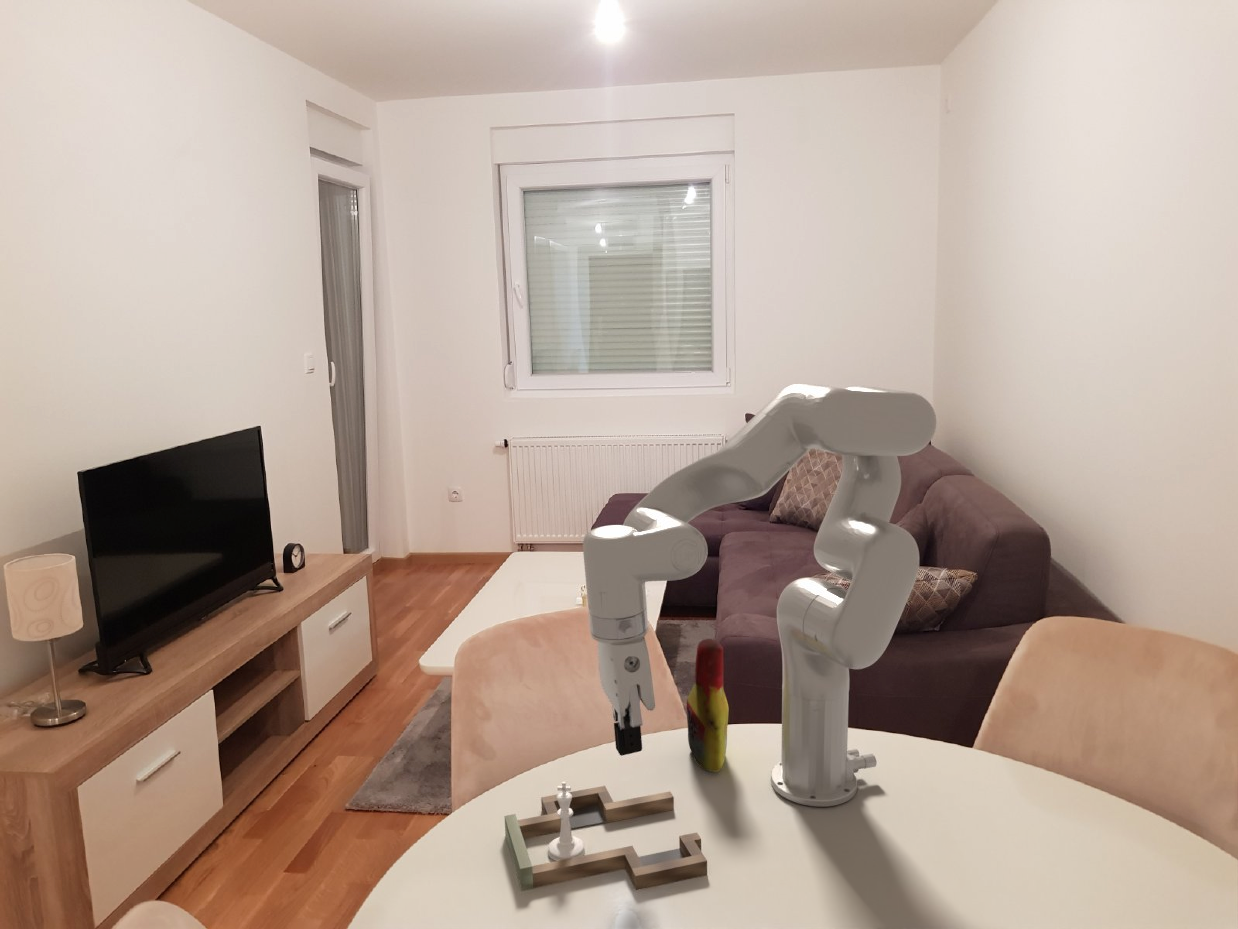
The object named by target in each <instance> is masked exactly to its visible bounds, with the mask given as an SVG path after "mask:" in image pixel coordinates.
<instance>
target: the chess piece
mask: <svg viewBox="0 0 1238 929" xmlns="http://www.w3.org/2000/svg"><path fill="white" fill-rule="evenodd" d="M571 786H572V785H571ZM571 786H570V785H567V781H562V782H561V785H557V791H558V792H559V793H558V795H557V794H556V795H557V800H558V803H559V805H560V808H561V809H559V810H558V811H557V816H558V817H560V818H561V831H560V832H559V837H556V838H554V839H553V840H552V841H550V842H549V844H548V848H547V854H548V857H549V858H550V859H551V860H552V861H553V862H555V861H560V860H565V859H569V858H574V857H579V856H584V855H585V852H586V848H585V843H584V841H583V840H582V839H581V838H579V837H577V836H575V835H573V834H572V830H571V828H570V822H569V817H571V816H572V815H573V811H572V809H570V808H569V806H570V802H571V800H572V795H571V794H570V793H568V792H571V790H572V787H571Z"/></svg>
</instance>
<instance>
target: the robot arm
mask: <svg viewBox="0 0 1238 929" xmlns="http://www.w3.org/2000/svg"><path fill="white" fill-rule="evenodd" d="M936 429H937V415H936V412H935V410H934V408H933V406H932V404H931V403H930V402H929V401H928V400H927V398H925V397H924V396H922V395H920V394H918V393H915V392H909V391H902V390H897V389H895V390H894V389H889V388H888V389H886V388H881V387H875V386H865V385H861V386H858V385H857V386H848V387H846V388H842V387H834V386H827V385H826V386H825V385H819V384H813V383H812V384H811V383H796V384H791V385H789V386H786V387H784V388H783V389H782V390H781V391H779V392H778V393H777V394H776V395H775V396H774V397H773V398H771V399H770V400H769V401H768V402H767V403H766V404H765V405H764V406H763V407H762V408H761V409H760V410H759V411H758V412H757V413H756V414H755V415H754V416H753V417H752V418H751V419H750V420H749V421H748V422H746V424H744V426H743V427H742V428H740V430H738V431H737V432H736V433H735V434H734V435H733V436H732V437H730V439H729V440H728V441H727V442H726V443H725V444H723V446H722V447H720V448H719V449H718V450H716V451H715V452H712V453H709V454H707V455H705V456H703V457H702V458H700V459H699V458H698V459H697V460H696V461H694V462H692V463H690V464H689V465H687V466H685V467H683V468H681V469H679V470H677V471H676V472H674V473H672V474H670V475H669V476H668V477H666V478H665V479H663V480H662V481H661V482H659V483H658V484H656V486H655V487H654V488H652V490H650V492H649V493H648V494H646V495H645V496H644V497H642V499H641V500H640V501H639V502H638V503H637V504H636V505H635V506H634V507H633V508H632V509H631V511H630V512H629V513H628V514H627V516H626V517H625V519H624V522H623V524H610V525H609V524H608V525H604V526H598V527H596V528H593V529H591V530H589V531H588V532H587V533H586V534H585V535H584V537H583V539H582V540H583V541H582V551H583V553H582V554H583V564H584V573H585V574H584V576H585V585H586V586H585V587H586V597H587V598H586V599H587V608H588V617H589V631H590V637H591V638H592V639H593V640H595V641H597V642H596V643H597V658H598V659H597V660H598V670H599V680H600V684H601V685H600V686H601V687H602V688H601V689H602V690H603V693H604V694H605V696H606V698H607V699H608V701H609V702H610V704H611V709H612V717H613V721H614V722H613V730H614V739H615V741H614V742H615V749H616V751H617V752H618V754H619V756H622V757H623V756H626V755H631V754H636V753H639V752H641V751H643V743H642V741H643V740H642V728H641V727H642V726H643V719H642V718H643V717H642V711H641V710H642V709H641V703H642V705H643V706H644V707H645V708H646V710H647V711H654V709H655V708H656V702H655V701H656V700H655V699H656V698H655V692H654V684H653V675H652V668H651V661H650V655H649V650H648V645H647V641H646V640H647V639H646V635H648V633H649V621H648V619H649V618H648V608H647V607H648V606H647V604H648V603H647V594H646V593H647V592H646V583H649V582H667V581H668V582H669V581H678V580H683V579H687V578H689V577H692V576H693V575H695V574H697V572H699V571H700V570H701V569H702V567H703V566H704V565H705V563H706V561H707V558H708V554H709V552H708V544H707V541H706V538H705V536H704V535H703V534H702V533H701V532H700V530H699V529H697V528H696V527H695V526H693V525H692V524H690V521H692V520H693V519H695V518H696V517H698V516H699V515H701V514H702V513H705V512H706V511H708V510H710V509H713V508H715V507H719V506H722V505H727V504H733V503H739V502H745V501H749V500H753V499H757V498H759V497H760V498H761V497H762V496H764V495H766V494H767V493H768V492H769V491H770V490H771V489H772V488H773V487H774V486H775V485H776V484H777V483H778V482H779V481H780V480H781V479H782V478H783V477H784V476H785V475H786V474H787V473H788V472H789V471H790V470H791V469H792V468H793V467H794V466H795V465H796V464H797V463H798V462H799V461H800V460H801V459H802V458H803V457H804V456H805V455H806V454H808V453H809V452H810V451H811V450H816V451H821V452H825V453H829V454H834V455H841V459H842V466H841V467H842V469H841V474H840V477H839V481H838V483H837V485H836V486H837V487H836V489H835V491H834V494H833V496H832V499H831V501H830V503H829V506H828V508H827V511H826V513H825V515H824V517H823V520H822V522H821V524H820V526H819V529H818V532H817V534H816V536H815V541H814V543H813V555H814V558H815V560H816V562H817V564H819V565H820V567H822V568H823V569H824V570H826V571H828V572H830V573H831V574H833V575H836V576H838V577H840V578H842V579H844V580H847V581H849V582H850V584H849V586H848V589H845V588H843V587H841V586H838V585H836V584H834V583H831V582H829V581H827V580H824V579H821V578H816V577H811V576H810V577H800V578H798V579H795V580H793V581H792V582H790V583H789V584H788V585H786V587H784V589H783V590H782V592H781V593H780V596H779V599H778V601H777V605H776V623H777V629H778V636H779V640H780V641H779V642H780V647H781V658H782V659H781V660H782V683H781V684H782V685H781V690H782V692H781V695H782V697H781V761H779V762H778V763H777V764H775V765H774V767H772V769H771V771H770V772H771V773H770V784H771V786H772V788H773V789H774V791H775V792H776V793H778V794H779V796H781V797H782V798H784V799H787V800H788V801H790V802H793V803H796V804H800V805H803V806H808V807H818V808H819V807H820V808H821V807H824V808H826V807H834V806H839V805H841V804H844V803H847V802H848V801H850V800H852V798H853V797H854V796H855V795H856V794H857V790H858V779H857V777H856V774H855V773H858V772H859V771H860V770H861V769H862V770H863V769H865V770H866V769H870V768H871V769H872V768H875V767H877V763H878V762H877V759H876V756H875V755H874V753H868V754H862V755H860V753H859V750H858V749H857V748H855V749H854V748H853V749H849V750H848V739H849V738H848V737H849V736H848V735H849V734H848V733H849V731H848V730H849V693H850V692H849V691H850V669H852V670H862V669H865V668H868V667H870V666H872V665H873V664H875V663H876V662H878V660H879V659H880V658H881V657H882V655H883V654H884V653H885V651H886V649H887V647H888V646H889V644H890V641H891V640H892V637H893V635H894V633H895V630H896V628H897V626H898V623H899V621H900V619H901V617H902V614H903V612H904V609H905V607H906V605H907V602H908V600H909V597H910V595H911V592H912V590H913V588H914V585H915V583H916V580H917V577H918V574H919V570H920V569H919V568H920V551H919V547H918V544H917V541H916V539H915V538H914V537H913V536H912V534H911V533H910V532H909V531H908V530H906V529H905V528H903V527H901V526H899V525H897V524H895V523H891V522H890V521H891V518H892V515H893V513H894V509H895V507H896V503H897V502H898V498H899V495H900V492H901V487H902V472H901V465H900V462H899V459H898V458H899V457H902V456H903V457H904V456H905V457H906V456H911V455H914V454H916V453H918V452H920V451H922V450H923V449H924V448H926V447H927V445H929V444H930V442H931V441H932V440H933V437H934V435H935V433H936Z"/></svg>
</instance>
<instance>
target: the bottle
mask: <svg viewBox="0 0 1238 929" xmlns="http://www.w3.org/2000/svg"><path fill="white" fill-rule="evenodd" d="M695 657H696V658H695V667H694V668H695V670H694V672H695V673H694V674H695V677H694V684H693V685H692V688H691V690H690V692H689V693H688V696H687V698H686V699H687V700H686V722H687V740H688V746H689V750H690V752H691V754H692V757H693V759H694V761H695V762H696V763H697V765H698V766H700V767H701V768H702V769H703V770H706V771H708V772H719V771H721V769H722V768H723V765H724V763H725V759H726V752H727V744H728V742H727V741H728V726H729V724H728V722H729V704H728V700H727V696H726V693H725V691H724V690H725V689H724V648H723V645H722V644H720V642H718V641H716V640H715V639H712V638H705V639H702V640H701V641H700V642H698V645H697V648H696V656H695Z"/></svg>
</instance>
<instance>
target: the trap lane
mask: <svg viewBox="0 0 1238 929" xmlns="http://www.w3.org/2000/svg"><path fill="white" fill-rule="evenodd" d="M567 792H568V793H570V794H571V795H572V800H571V802H570V806H569V808H570V809H572V811H573V815H572V816H571V817H569V822H570V828H571V831H572V830H576V829H581V828H582V829H583V828H587V827H592V826H597V825H602V824H608V823H612V822H619V821H623V820H627V819H631V818H633V819H634V818H638V817H642V816H643V817H644V816H648V815H653V814H654V815H655V814H659V813H664V812H669V811H674V810H675V801H674V800H675V797H674V795H673V794H672V792H671V791H666V792H661V793H654V794H649V795H644V796H640V797H633V798H628V799H623V800H622V799H621V800H618V801H617V800H616V801H614V800H613V798H612V796H611V795H610V792H609V791H608V789H607V787H606V785H602V786H597V787H592V788H585V789H579V790H575V791H573V790H572V791H567ZM558 794H559V793H558ZM558 794H552V795H547V796H542V797H541V798H540V801H541V812H542V815H538V816H533V817H526V818H522V819H518V818H517V815H516V814H515V813H513V814H507V815H504V828H505V829H504V832H505V839H506V842H507V845H508V849H509V853H510V857H511V860H512V862H513V866H514V867H513V868H514V870H515V873H516V876H517V879H518V880H517V881H518V883H519V886H520V891H526V890H531V889H536V888H540V887H545V886H550V885H554V884H559V883H564V882H569V881H573V880H578V879H582V878H588V877H592V876H596V875H601V874H605V873H606V874H607V873H610V872H611V873H612V872H616V871H620V870H625V871H626V873H627V876H628V878H629V879H630V882H631V883H632V884H631V885H632V886H633V888H634V889H635V891H640V890H645V889H648V888H654V887H659V886H662V885H668V884H672V883H676V882H680V881H681V882H682V881H685V880H691V879H695V878H700V877H705V876H707V875H708V860H707V858H706V857H705V855H704V854H703V852H702V838H701V836H700V835H699V833H698V832H693V833H688V834H683V835H679V837H678V840H679V841H678V842H679V843H678V844H679V847H678V848H675V849H670V850H665V851H659V852H655V853H650V854H647V855H640V856H639V855H638V854H637V851H636V850H635V848H634V846H633V845H630V846H629V845H628V846H624V847H619V848H614V849H609V850H604V851H599V852H595V853H591V854H586V855H585V854H584V855H583V856H579V857H574V858H569V859H565V860H560V861H550V862H545V863H542V864H541V863H540V864H536V865H535V864H534V865H532V861H531V859H530V855H529V851H528V848H527V845H526V842H525V840H526V839H529V838H535V837H540V836H546V835H551V834H555V833H560V831H561V818H560V817H558V816H557V811H558V810H559V809H561V808H560V805H559V803H558V800H557V795H558ZM524 839H525V840H524Z"/></svg>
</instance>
